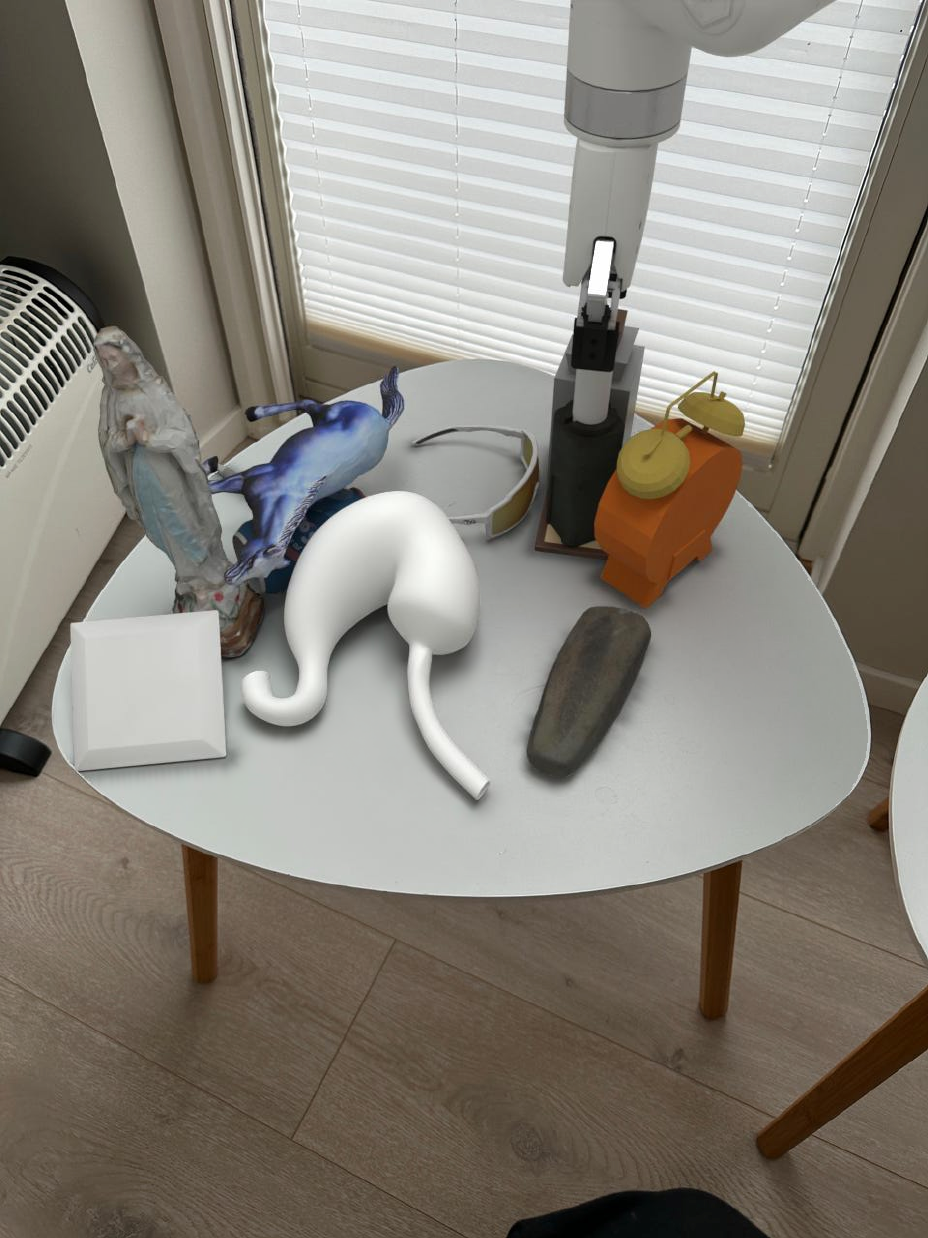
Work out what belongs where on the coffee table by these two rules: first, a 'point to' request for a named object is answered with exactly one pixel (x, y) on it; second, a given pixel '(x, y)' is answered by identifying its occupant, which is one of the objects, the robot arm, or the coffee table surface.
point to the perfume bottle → (621, 384)
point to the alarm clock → (669, 495)
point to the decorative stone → (587, 688)
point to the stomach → (363, 582)
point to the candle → (582, 457)
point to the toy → (306, 471)
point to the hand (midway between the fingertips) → (599, 330)
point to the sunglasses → (516, 500)
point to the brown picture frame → (552, 543)
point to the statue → (168, 487)
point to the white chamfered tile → (147, 690)
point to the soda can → (296, 538)
